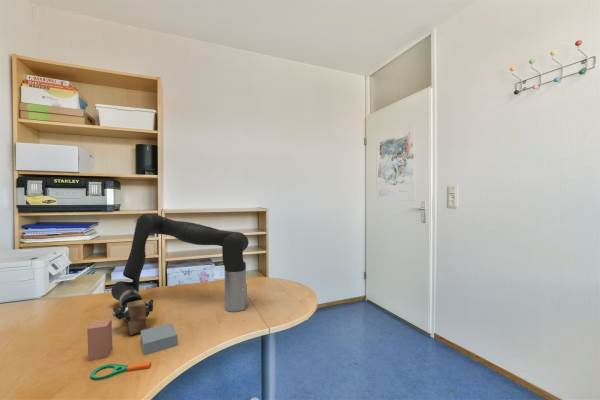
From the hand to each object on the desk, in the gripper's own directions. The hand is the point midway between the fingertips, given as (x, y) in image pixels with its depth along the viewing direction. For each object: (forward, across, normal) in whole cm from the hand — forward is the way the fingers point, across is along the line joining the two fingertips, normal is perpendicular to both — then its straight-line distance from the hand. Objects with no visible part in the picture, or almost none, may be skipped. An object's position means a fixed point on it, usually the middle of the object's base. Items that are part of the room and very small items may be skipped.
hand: (138, 316), depth 100 cm
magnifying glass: (+19, -7, +8) cm, 22 cm away
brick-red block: (+6, -12, +7) cm, 15 cm away
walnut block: (-3, 0, +6) cm, 7 cm away
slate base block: (+10, +4, +7) cm, 13 cm away
